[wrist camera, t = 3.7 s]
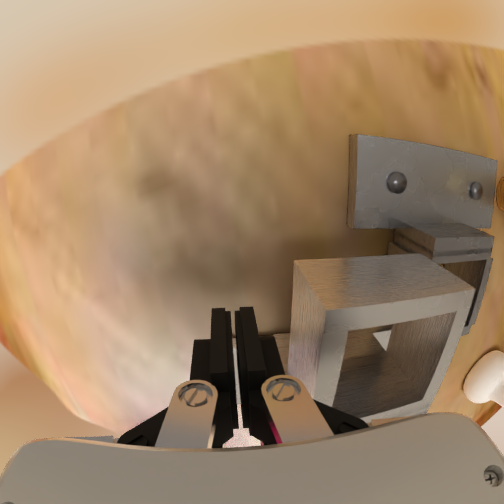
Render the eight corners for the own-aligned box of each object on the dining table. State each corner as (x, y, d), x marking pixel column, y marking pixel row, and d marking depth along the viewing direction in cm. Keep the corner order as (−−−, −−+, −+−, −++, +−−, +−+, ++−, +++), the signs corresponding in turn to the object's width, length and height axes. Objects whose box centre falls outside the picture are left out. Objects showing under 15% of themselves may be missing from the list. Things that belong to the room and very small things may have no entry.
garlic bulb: (486, 338, 22) (530, 380, 15) (505, 353, 23) (542, 389, 16) (450, 385, 24) (485, 433, 16) (473, 394, 25) (504, 435, 17)
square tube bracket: (417, 229, 17) (513, 280, 9) (385, 373, 20) (433, 448, 13) (220, 234, 15) (220, 317, 8) (230, 394, 19) (238, 495, 11)
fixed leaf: (487, 159, 16) (527, 166, 12) (464, 301, 19) (495, 324, 16) (349, 134, 15) (387, 132, 11) (336, 322, 18) (359, 360, 14)
